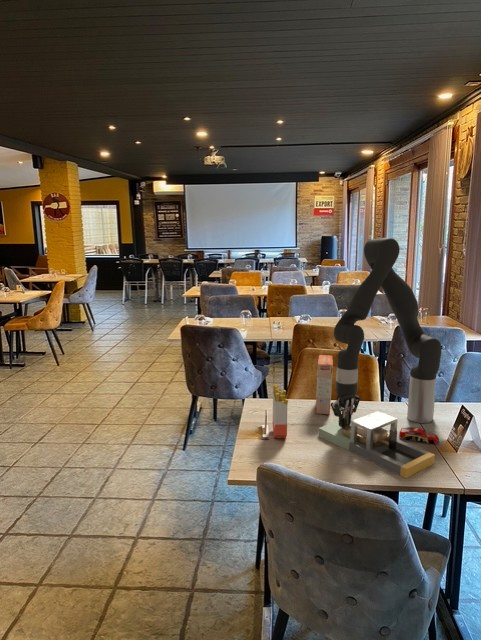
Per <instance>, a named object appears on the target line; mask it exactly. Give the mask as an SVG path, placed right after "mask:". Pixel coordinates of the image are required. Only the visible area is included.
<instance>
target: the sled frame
mask: <svg viewBox="0 0 481 640" xmlns="http://www.w3.org/2000/svg"><path fill="white" fill-rule="evenodd" d="M342 413H343V412H342V411H341V414H342ZM348 421H349V411H347V412H346V415H345V427H344V428H343V430H342V434H343V435H346V436H348V437H350V438H351V426H350V425H348ZM397 439H398V429H397V430H395V429H389V432H388V433H387V436H384V437H382V438H380V439H377V440H375V441H373V448H377V447H379V446H381V445H384V446H386V447H388V448H389V449H391V450H395V449H396V443H397ZM366 440H367V438H366V437H364V436H362V435H360V434H357V441H359V442H361V443H363V444H365V445H366Z"/></svg>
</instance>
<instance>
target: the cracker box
mask: <svg viewBox="0 0 481 640" xmlns="http://www.w3.org/2000/svg"><path fill="white" fill-rule="evenodd" d="M333 362H334V361H333V355H328V354H327V355H324V354H319V355H318V361H317V372H316V395H315V396H316V397H315V414H316V415H317V414H319V415H326V414H327V415H328V416H329V415H331V413H330V412H331V403H332V402H331V401H332V387H333V385H332V384H333V369H334V366H333V365H334V364H333ZM327 415H326V416H327Z"/></svg>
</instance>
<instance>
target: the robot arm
mask: <svg viewBox="0 0 481 640" xmlns="http://www.w3.org/2000/svg"><path fill="white" fill-rule="evenodd" d="M363 247H364V248H363V254H364V259H365V260H366V262H367V264H368V265H369V267H370V269H371V271H370V273H369V274H368V275H367V276H366V278H365V279H364V280H363V281H362V283H361V284H360V285H359V286H358V287H357V289H356V290H355V291H354V293H353V295H352V297H351V299H350V303H349V305H348V308H347V310H346V311H345V312H344V313H343V314H342V316H341V317H340V318H339V320H338V321H337V323H336V324H335V325H334V330H333V337H334V339H335V341H337V342H339V343H341V344H346V345H347V347H346V349H345V348H344V349H341V350H339V351H338V353H337V360H336V362H337V363H336V372H335V387H334V388H335V390H334V391H335V392H336V395H337V396H336V398H335V399H336V400H335V401H334V402H331V404H330V408H331V409H332V411H333V414H334V416H335V417H338V421H339V426H340V427H342V428H344V427H345V415H346V412H347V411H349V421H348V425H351V420H352V416H353V414H355V413H356V412H357V409H358V407H359V403H360V401H361V396H358V395H357V393H358V384H359V383H358V382H359V381H358V380H359V371H358V367H359V365H358V364H359V355H360V352H361V349H362V346H363V343H364V341H365V333H364V329H363V327H361V326H360V325H358V324H356V323H357V322H359V321H364V320H366V319H367V317H368V315H369V312H370V310H371V309H372V306H373V303H374V301H375V298H376V296H377V295H378V294H377V293H378V292H379V290H380V289H382V292H384V295H385V297H386V299H387V301H388V303H389V306H390V308H391V311H392V313H393V314H394V316H395V319H396V321H397V322H398V325H399V327H400V330H401V331H402V334H403V337H404V341H405V343H406V347H407V348H408V351H409V353H410V354H411V355H412V356H413V357H416V358H418V365H416V366H413V367H411V369H410V373H409V375H410V376H409V388H408V399H407V400H408V402H407V412H406V414H407V416H406V417H407V419H408V420H409V421H410V422H413V423H419V424H429V423H432V422H433V419H434V414H435V403H436V402H435V401H436V395H435V391H436V381H437V374H438V372H439V370H440V366H441V358H442V351H443V350H442V343H441V341H440V340H439V339H437V338H436V337H434V336H431V335H427V334H426V333H425V332H424V331H423V329H422V326H421V324H420V323H419V302H418V300H417V298H416V295H415V293H414V291H413V289H412V288H411V286H410V285H409V284H408V283H407V282H406V281H405V280H404V279H403V278H402V277H401V276H400V275H399V274H398V273H397V272H396V271H395V270H394V269H393V266H394V265H395V264H396V262H397V261H398V258H399V255H400V245H399V242H398V240H397V239H395V238H392V237H380V238H371V239H368V240H367V242H365V245H364V246H363ZM342 412H343V413H342Z"/></svg>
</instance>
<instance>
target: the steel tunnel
mask: <svg viewBox="0 0 481 640" xmlns="http://www.w3.org/2000/svg"><path fill="white" fill-rule="evenodd" d="M398 419H399V418H397V417H394V416H392V415H389V414H387V413H383V412H382V411H379V410H376V411H375V412H373V413H369V414H367V415H366V414H365V415H363V416H361V417H359V418H356V419H352V420H353V421H351V438H350V442H352V443H356V442H357V429H358V427H360V428H362V429H365V430H367V440H366V449H367V450H369V451H371V450H373V436H374V431H375V430H377V429H380V428H384V427H387V426H388V425H389V426H390V429H395V430H397V431H398ZM390 429H389V430H390Z"/></svg>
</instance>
